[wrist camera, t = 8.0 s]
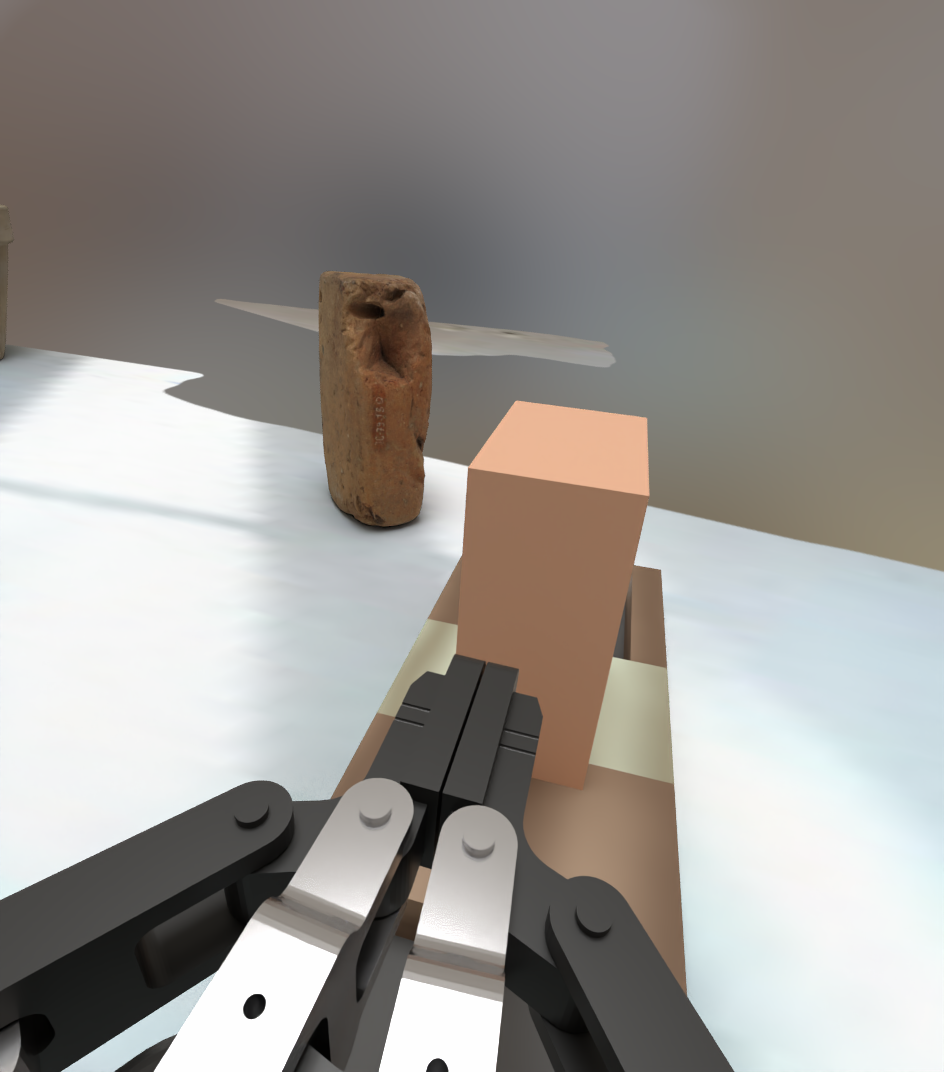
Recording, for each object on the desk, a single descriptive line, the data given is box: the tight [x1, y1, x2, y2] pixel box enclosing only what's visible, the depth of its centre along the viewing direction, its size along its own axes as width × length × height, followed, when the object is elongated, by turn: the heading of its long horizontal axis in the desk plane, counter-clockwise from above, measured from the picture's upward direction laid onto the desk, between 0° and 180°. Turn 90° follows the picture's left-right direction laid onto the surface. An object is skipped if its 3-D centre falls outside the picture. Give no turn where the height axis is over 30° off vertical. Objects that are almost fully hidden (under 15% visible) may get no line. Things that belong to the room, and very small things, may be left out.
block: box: [319, 271, 432, 526], centre depth 51 cm, size 11×8×20 cm
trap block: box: [456, 401, 649, 790], centre depth 27 cm, size 6×9×14 cm, turn 166°
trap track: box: [331, 556, 687, 1072], centre depth 28 cm, size 14×38×3 cm, turn 166°
